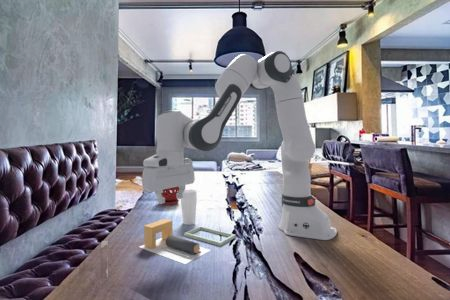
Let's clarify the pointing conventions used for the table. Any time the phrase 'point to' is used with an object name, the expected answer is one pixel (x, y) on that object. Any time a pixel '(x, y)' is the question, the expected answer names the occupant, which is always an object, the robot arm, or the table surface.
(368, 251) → the table surface
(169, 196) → the plant pot
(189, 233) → the green rectangular frame
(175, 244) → the battery
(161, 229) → the wooden bridge piece
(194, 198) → the drinking glass
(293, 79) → the robot arm
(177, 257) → the station
